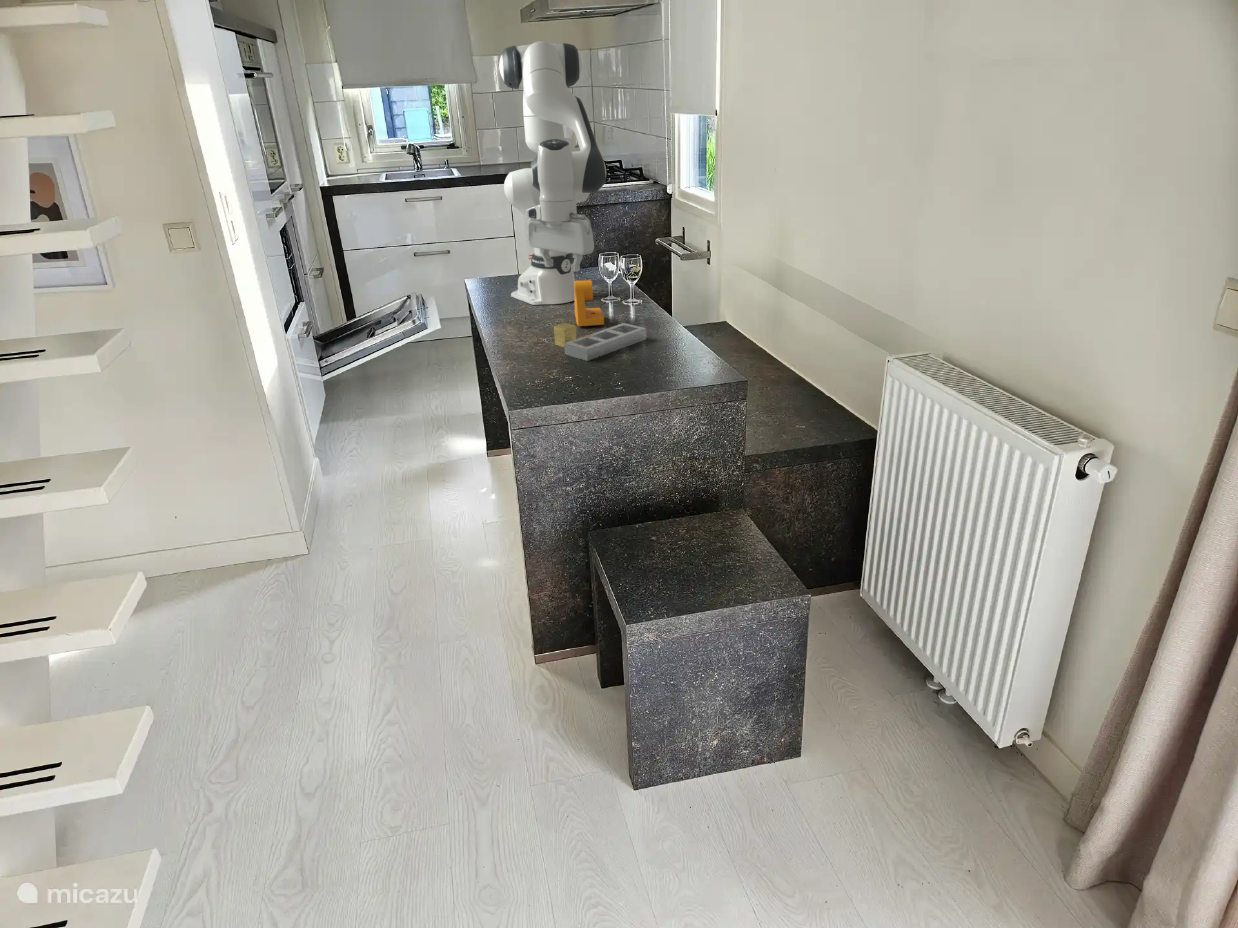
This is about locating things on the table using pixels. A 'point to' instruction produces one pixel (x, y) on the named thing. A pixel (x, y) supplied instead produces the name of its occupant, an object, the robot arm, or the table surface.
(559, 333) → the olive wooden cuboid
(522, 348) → the table surface
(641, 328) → the grey rectangular frame
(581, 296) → the bracket
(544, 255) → the robot arm
